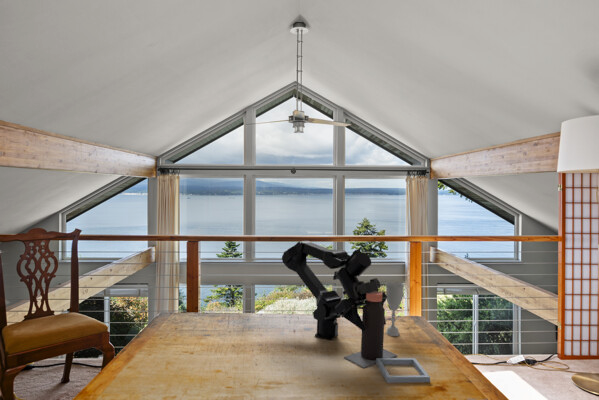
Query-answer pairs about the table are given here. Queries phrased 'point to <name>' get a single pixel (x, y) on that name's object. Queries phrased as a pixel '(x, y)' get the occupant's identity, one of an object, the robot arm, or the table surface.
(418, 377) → the bottle holder
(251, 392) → the table surface
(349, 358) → the mat
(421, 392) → the table surface
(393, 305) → the chalice
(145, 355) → the table surface
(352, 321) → the robot arm
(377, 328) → the vinegar
